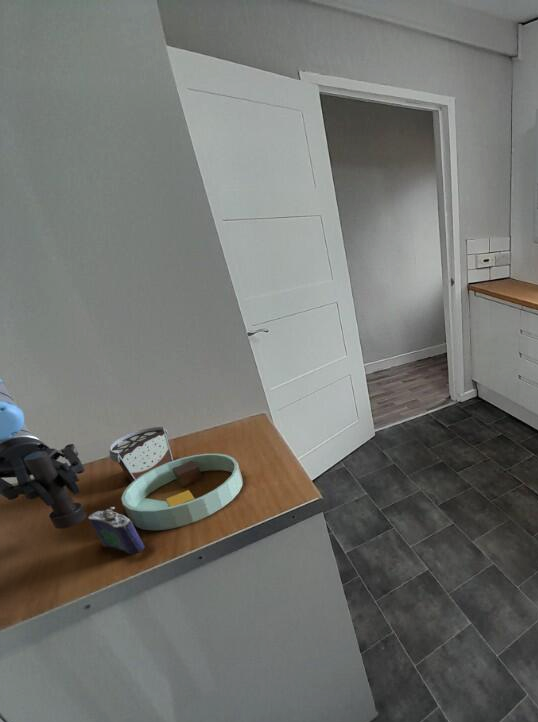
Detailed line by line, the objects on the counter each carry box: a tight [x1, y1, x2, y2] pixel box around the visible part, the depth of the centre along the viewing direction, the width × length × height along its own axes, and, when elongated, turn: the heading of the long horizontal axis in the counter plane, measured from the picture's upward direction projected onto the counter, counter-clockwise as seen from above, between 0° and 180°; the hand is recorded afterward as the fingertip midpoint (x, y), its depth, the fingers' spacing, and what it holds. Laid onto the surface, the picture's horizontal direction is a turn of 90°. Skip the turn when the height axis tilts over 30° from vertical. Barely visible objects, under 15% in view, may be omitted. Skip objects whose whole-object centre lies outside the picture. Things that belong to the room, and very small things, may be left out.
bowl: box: [120, 453, 244, 531], centre depth 91 cm, size 20×20×6 cm
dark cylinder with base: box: [24, 451, 88, 530], centre depth 75 cm, size 4×4×15 cm
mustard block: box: [165, 489, 195, 507], centre depth 86 cm, size 4×4×4 cm
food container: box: [109, 426, 174, 483], centre depth 98 cm, size 12×6×10 cm, turn 172°
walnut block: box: [172, 461, 204, 489], centre depth 96 cm, size 4×4×4 cm
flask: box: [87, 506, 145, 555], centre depth 75 cm, size 9×3×11 cm, turn 73°
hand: (61, 492), depth 72 cm, fingers closed on dark cylinder with base, 3 cm apart
